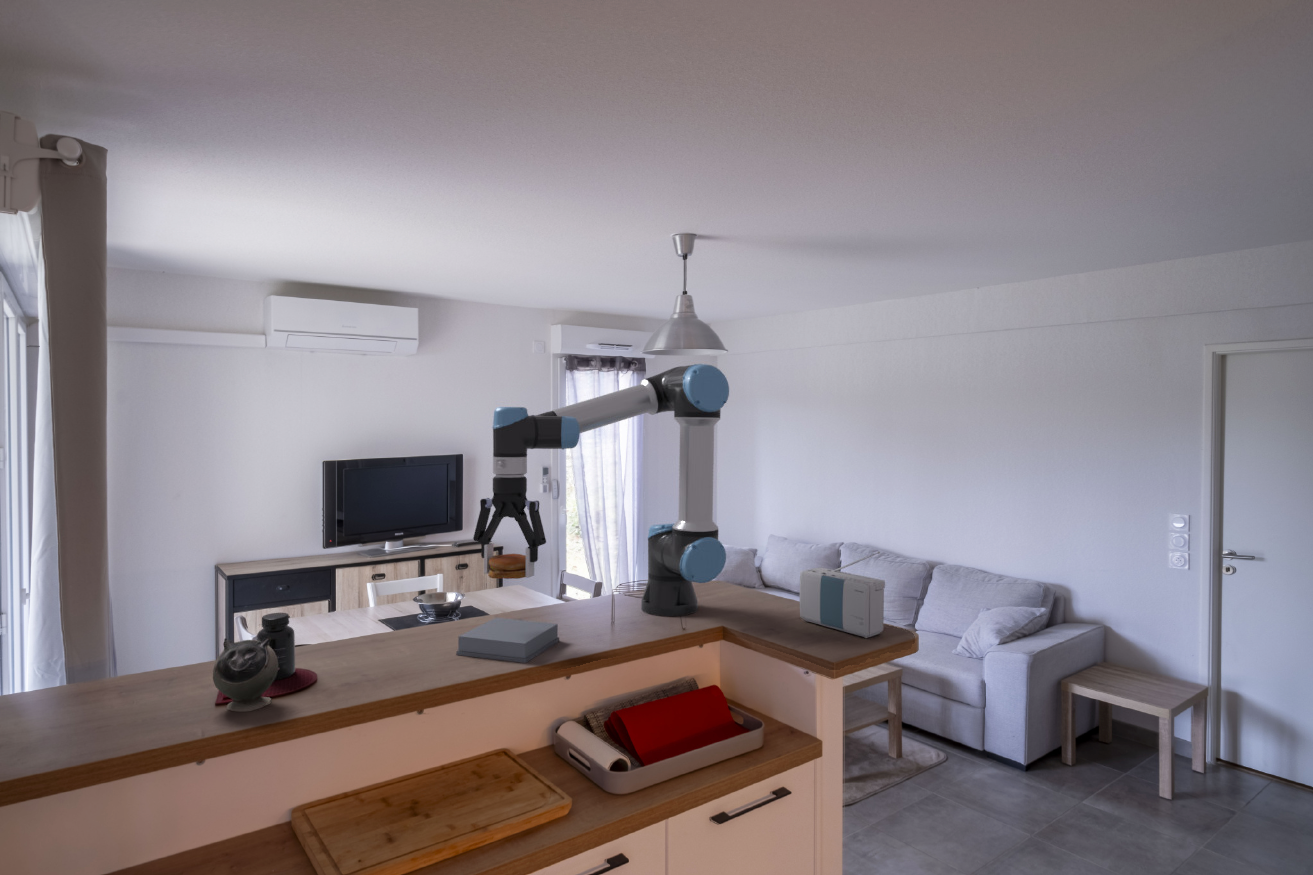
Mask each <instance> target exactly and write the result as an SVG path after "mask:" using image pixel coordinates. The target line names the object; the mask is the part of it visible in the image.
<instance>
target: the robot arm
mask: <svg viewBox="0 0 1313 875" xmlns="http://www.w3.org/2000/svg"><path fill="white" fill-rule="evenodd" d="M729 397H730V386H729V382H728V380H727V377H726V375H725V374H724V373H723V372H722V370H721V369H720V368H717V366H714V365H711V364H706V363H705V364H703V363H697V364H696V363H694V364H691V365H690V364H689V365H682V366H676V367H673V368H670V369H667V370H665V371H663V372H660V373H658V374H654V375H653V376H650V377H647V378H643V379H641V380H640V382H639V383H638V384H637V385H634V386H630V387H627V388H626V387H625V388H623V389H620V390H616V391H613V392H609V393H607V394H603V395H600V396H597V397H593V398H590V399H586V400H582V401H580V402H576V403H573V404H569V405H566V406H563V407H559V408H556V409H552V410H550V411H546V412H543V413H539V414H535V415H534V414H532V415H531V414H530V415H529V413H528V409H527V408H526V407H521V406H520V407H519V406H518V407H517V406H498V407H496V408H495V409H494V410H493V421H492V438H493V439H492V446H493V447H492V450H493V451H492V452H493V453H492V473H493V475H495V476H493V478H492V493H493V496H492V498H490V497H485V498H481V499H480V502H479V503H480V510H479V514H478V518H477V522H476V526H475V530H474V534H473V536H472V537H473V538H472V539H473V541H475V542H479V543H480V546H481V547H480V548H481V549H480V550H481V551H480V553H481V554H480V555H481V559H483V574H484V575H488V574H489V571H490V565H489V560H490V558H491V557H493V556H494V544H495V543H491V542H492V539H493V537H494V535H495V533H496V531H497V529H498V527H499V525H500V524H501V522H502V520H503V519H504V518H511V519H514V521H516V523H517V524H518V526H519V528H520V530H521V532H522V535H523V536H524V539H525V541H526V543H527V545H528V546H527V547H525V556H526V577H525V578H527V579H528V578H529V579H530V578H531V577H534V576H535V562H537V561H538V559H539V555H538V554H539V547H540V546H543V545H545V544H547V539H546V534H545V531H544V526H543V523H542V518H541V514H540V501H539V500H528V497H527V492H528V488H527V487H528V479H527V478H528V477H526V474H528V458H527V457H528V450H534V449H540V450H541V449H542V450H567V449H574V448H576V447H577V446H578V444H579V440H580V434H583V433H585V432H589V431H592V430H595V429H598V428H602V427H605V426H608V425H611V424H615V423H618V422H621V421H625V420H627V419H631V418H635V417H637V416H641V415H643V414H647V413H648V414H649V415H652V416H653V415H656V414H659V413H666V412H673V417H674V420H675V421H676V422H677V423H678V424H679V465H678V466H679V468H678V471H679V472H678V475H679V476H678V519H677V521H676V522H675V523H661V524H659V523H658V524H653V525H651V526H650V527H649V529H648V533H647V534H648V535H647V567H648V568H647V572H648V573H647V582H646V585H645V589H644V590H643V591H644V592H643V595H642V598H641V606H640V608H641V611H643V612H644V613H647V614H649V615H650V614H651V615H655V616H666V617H672V616H673V617H677V616H685V615H691V614H694V613H696V612H697V611H698V610H699V609H698V607H699V602H698V598H697V595H696V592H695V588H694V585H693V583H698V584H706V583H709V582H711V581H713V580H715V579H716V578H717V577H718V576H719V575H720V574H721V573H722V571H723V569H724V568H725V565H726V562H727V551H726V548H725V547H724V545H723V544H722V543H721V541H720V540H719V526H718V525H717V524H716V523H715V522H714V520H713V518H714V516H713V515H714V514H713V513H714V512H713V510H714V509H713V508H714V506H713V505H714V464H715V463H714V458H715V457H714V456H715V454H714V453H715V452H714V450H715V425H716V424H717V423H718V422H719V421H720V420H721V412H722V411H721V409H722V408H723V407H724V406H725V404H726V403H727V402H728V399H729ZM492 507H494V509H495V510H494V511H493V514H492V515H491V517H492V518H491V520H490V521H489V517H490V514H491V510H492V509H491V508H492ZM526 508H527V510H528V515H529V520H530V521H529V520H528V515H527V513H526V510H525V509H526ZM488 521H489V523H488ZM530 523H531V524H530Z"/></svg>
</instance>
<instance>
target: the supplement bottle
mask: <svg viewBox="0 0 1313 875" xmlns="http://www.w3.org/2000/svg"><path fill="white" fill-rule="evenodd" d="M289 617H290V616H289V614H288V613H286V612H272V613H268V614H265V615H263V616H261V629H260V630H259V631H258V632H257V634H256V638H255V640H257V641H261V642H262V641H263V639H264V638H266V637H270V638H271V642H270V645H268V646H269V647H271V648H272V649H273V651H274V652H275V654H276V656H277V660H278V671H277V675H276V677H275V679H274V681H277V680H283V679H286V678H288V677H291V676H292V675H293V674H294V673H295V672H296V651H295V650H296V642H295V641H296V640H295V638H296V637H295V634H296V633H295V629H294V628H293V627H292V626H290V625H289V624H290V618H289Z"/></svg>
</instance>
